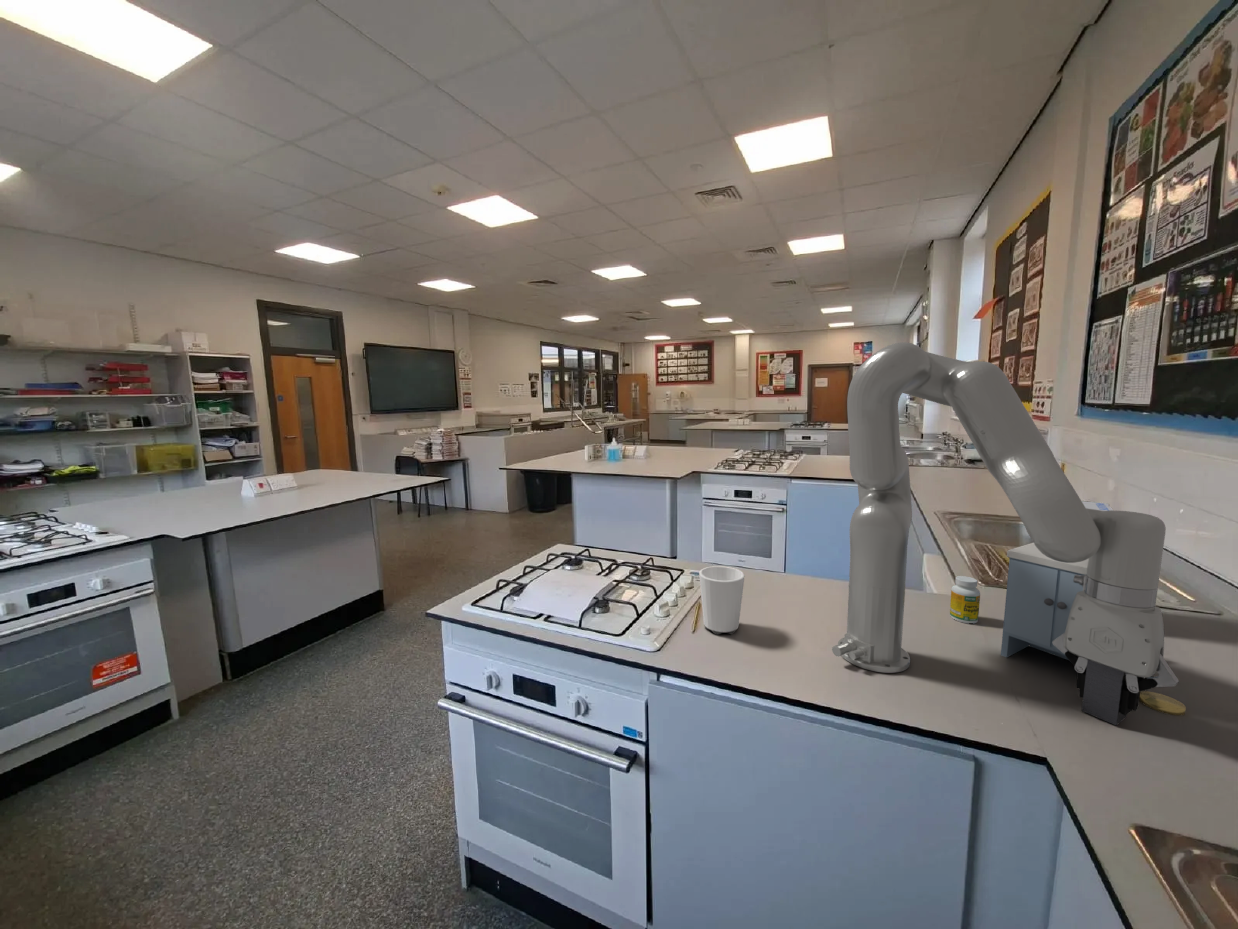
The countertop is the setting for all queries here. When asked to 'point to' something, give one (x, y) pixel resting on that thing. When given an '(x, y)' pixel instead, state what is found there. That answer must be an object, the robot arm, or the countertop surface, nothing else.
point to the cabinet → (1038, 600)
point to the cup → (721, 598)
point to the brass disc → (1162, 703)
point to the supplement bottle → (965, 600)
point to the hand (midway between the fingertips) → (1105, 702)
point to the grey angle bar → (1103, 692)
